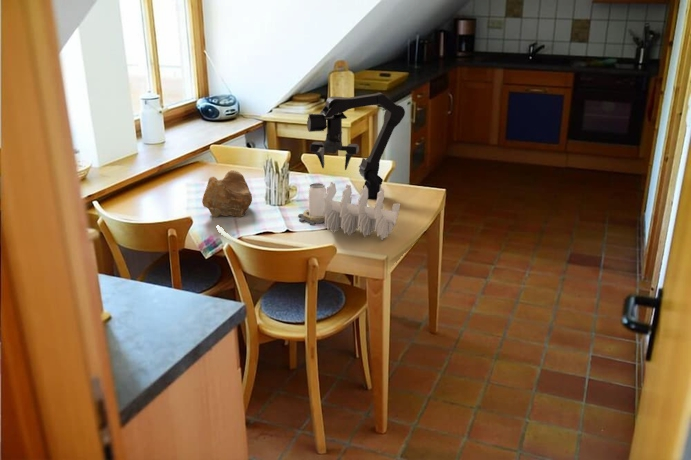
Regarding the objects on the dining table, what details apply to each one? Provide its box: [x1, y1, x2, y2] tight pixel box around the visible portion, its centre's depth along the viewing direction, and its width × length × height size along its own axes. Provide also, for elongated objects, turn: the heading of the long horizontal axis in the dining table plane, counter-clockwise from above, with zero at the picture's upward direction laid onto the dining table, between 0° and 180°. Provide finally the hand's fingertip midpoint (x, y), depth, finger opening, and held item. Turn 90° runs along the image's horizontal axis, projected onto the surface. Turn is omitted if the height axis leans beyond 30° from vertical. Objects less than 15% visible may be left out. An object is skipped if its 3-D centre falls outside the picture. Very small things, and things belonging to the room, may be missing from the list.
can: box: [308, 182, 327, 217], centre depth 240 cm, size 6×6×12 cm
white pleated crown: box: [323, 181, 401, 241], centre depth 225 cm, size 18×18×25 cm
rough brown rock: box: [202, 170, 253, 218], centre depth 246 cm, size 23×17×15 cm
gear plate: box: [298, 209, 326, 226], centre depth 242 cm, size 14×14×2 cm
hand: (334, 169), depth 258 cm, fingers open, 9 cm apart
